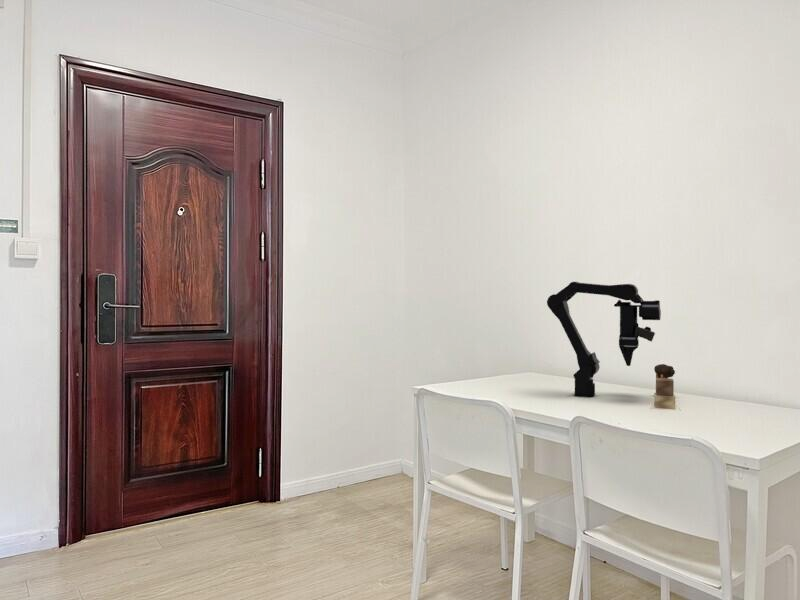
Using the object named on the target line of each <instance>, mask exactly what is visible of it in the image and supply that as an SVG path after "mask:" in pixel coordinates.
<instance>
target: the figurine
mask: <svg viewBox="0 0 800 600" xmlns="http://www.w3.org/2000/svg"><path fill="white" fill-rule="evenodd" d="M653 369H654V372H655V379H656V378H669V379H671V378H672V377H674V375H675V374H676V371H675V369H674V366H671V365H667V364H665V363H662V364H656V365H655V366H654V368H653Z"/></svg>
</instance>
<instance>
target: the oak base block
mask: <svg viewBox="0 0 800 600" xmlns="http://www.w3.org/2000/svg"><path fill="white" fill-rule="evenodd" d="M653 397H654V398H653V404H654V406H655V408H662V409H675V405H676V395H675V394H674V396H657V395H656V392H654V393H653ZM662 409H661V410H662Z"/></svg>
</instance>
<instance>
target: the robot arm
mask: <svg viewBox="0 0 800 600" xmlns="http://www.w3.org/2000/svg"><path fill="white" fill-rule="evenodd" d="M578 293H580V294H591V295H599V296H600V295H601V296H609V297H612V298H616V299H618V300H617V302H616V303H615V304H614V305H613V307H616V308H617V307H619V337H618V348H619V350H620V352H621V355H622V357H623V359H624V362H625V364H626V366H627V367H630V366H631V364H632V359H633V354H634V351H635V350H636V349H638V348H639V337H640V338H642V339H645V340H647V341H648V342H653V340H654V337H655V335H656V333H655V332H654V331H652V328H651V327H649V326H645V327H644V328H643V327H640V326H639V323H638V316H639V318H642V321H661V318H662V314H661V313H662V310H661V301H660V300H657V299H656V300H644V299H643V298H642V297H641V296H640V294H639V290H638V287H637V286H636V285H634V284H632V283H624V284H623V283H622V284H613V285H612V284H609V285H608V284H599V283H598V284H597V283H587V282H579V281H571V282H570V283H569V284H568V285H567V286H565V287H564V288H562V289H561V290H560V291H558V292H557V293H556V294H555V293H554V294H551V295H550V296H548V298H547V300H546V305H547V307H548V308H549V310H550V311H551V312H552V314H553V315H554V316H555V317H556V318H557V319H558V320H559V322H560V324H561V326H562V328H563V330H564V332H565V334H566V336H567V338H568V341H569V342H570V345H571V347H572V348H573V351H574V353H575V355H576V360H577V365H578V368H579V369H578V370H577V371H575V373H573V378H574V395H573V397H575V398H576V397H577V398H594V397H595V395H596V383H594V376H595V375H596V374H597V373H598V372H599V370H600V368H601V367H600V363H601V361H600V360H599V359H598V357H597V354H596V352H595V351H594V352H592V353H591V352H590V351H589V350H588V348H587V347H586V345H585V342H584V341H583V338H582V336H581V334H580V333H579V331H578V328H577V326H576V325H575V322H574V321H573V318H572V316H571V313H570V308H569V304H568V302H569V301H570V300H571V299H573V297H574V296H575V295H576V294H578ZM622 300H624V301H622ZM632 302H633V303H634V304H632Z"/></svg>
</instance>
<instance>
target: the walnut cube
mask: <svg viewBox="0 0 800 600" xmlns="http://www.w3.org/2000/svg"><path fill="white" fill-rule="evenodd" d="M674 383H675V382H674V379H673V378H656V377H655V393H656V395H657V396H674V395H675V393H674V387H675V386H674Z"/></svg>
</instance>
